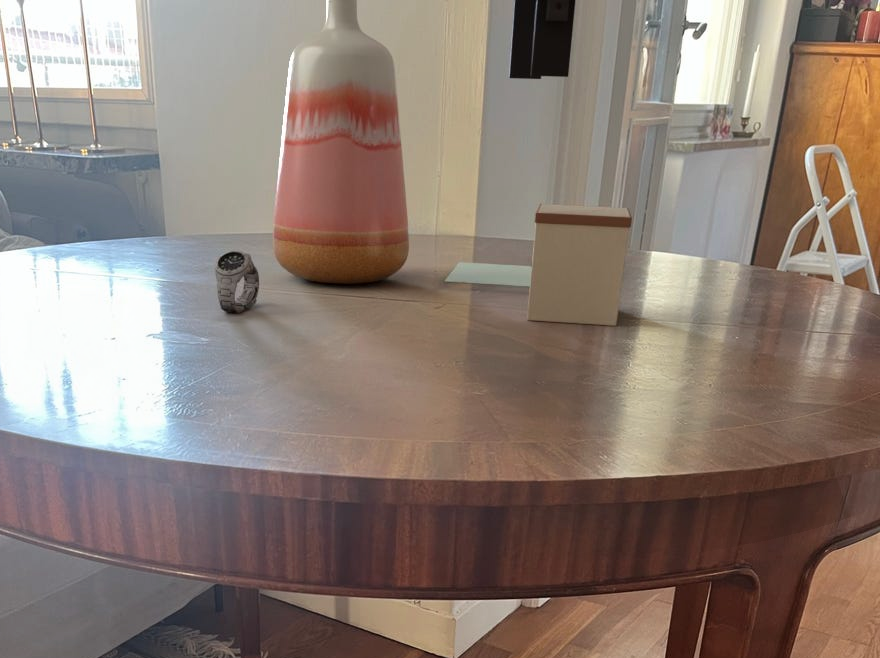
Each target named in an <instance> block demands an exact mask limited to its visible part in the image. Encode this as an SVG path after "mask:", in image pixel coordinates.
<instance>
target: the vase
mask: <svg viewBox="0 0 880 658" xmlns="http://www.w3.org/2000/svg"><path fill="white" fill-rule="evenodd" d="M286 86H287V87H286V95H285V106H284V114H283V125H282V134H281V141H280V142H281V143H280V153H279V162H278V173H277V183H276V192H275V193H276V194H275V202H274V211H273V222H272V224H273V226H272V249H273V254H274V257H275V260H276V261H277V262H278V264H279V265H280V267H282V268H283V269H284V270H285V271H286V272H288V273H290V274H291V275H293V276H295V277H297V278H300V279H303V280H306V281H311V282H317V283H323V284H324V283H326V284H343V285H345V284H346V285H347V284H348V285H349V284H350V285H351V284H354V285H355V284H366V283H373V282H379V281H383V280H385V279H387V278H389V277H391V276H393V275H395V274H396V273H397V272H399V271H400V270H401V269H402V268H403V266H404V265H405V264H406V262H407V259H408V256H409V249H410V237H409V236H410V235H409V218H408V205H407V193H406V181H405V169H404V160H403V148H402V136H401V124H400V111H399V103H398V90H397V89H398V87H397V77H396V69H395V62H394V58H393V56H392V53H391V52H390V50H389V48H387V47H386V46H385V45H383V44H382V43H380V41H378V40H377V39H375V38H373V37H371V36H369V35H367V34H366V33H365V32H364V31H363V30H362V29H361V27H360V24H359V21H358V0H326V18H325V23H324V26H323V28H322V29H321V30H320V31H319V32H317V33H315V34H313V35H311V36H310V37H307V38H306V39H304V40H302V41H301V42H300V43H298V44H297V45H296V46H295V47H294V49H293V51H292V54H291V56H290V61H289V67H288V76H287V84H286Z"/></svg>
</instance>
